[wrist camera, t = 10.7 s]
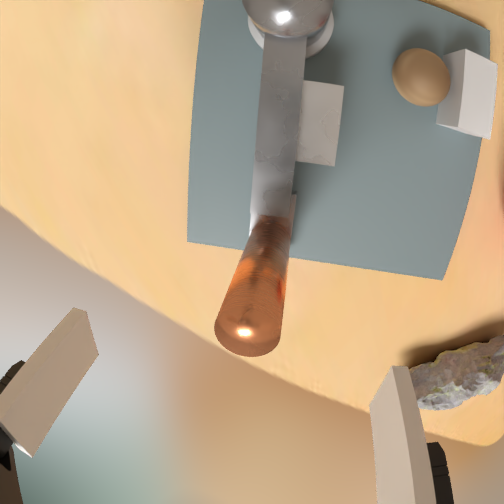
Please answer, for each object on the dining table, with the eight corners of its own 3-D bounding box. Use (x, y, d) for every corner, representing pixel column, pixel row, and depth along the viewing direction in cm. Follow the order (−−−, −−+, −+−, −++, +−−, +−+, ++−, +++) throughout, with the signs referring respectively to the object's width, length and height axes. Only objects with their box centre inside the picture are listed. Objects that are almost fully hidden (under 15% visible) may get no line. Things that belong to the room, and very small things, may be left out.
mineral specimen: (387, 395, 35) (395, 437, 29) (386, 359, 32) (397, 403, 26) (491, 365, 31) (508, 400, 25) (500, 325, 28) (523, 361, 22)
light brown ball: (387, 46, 18) (404, 35, 14) (438, 62, 18) (462, 55, 14) (382, 98, 20) (399, 96, 16) (432, 112, 20) (457, 115, 16)
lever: (259, -7, 17) (222, -90, 6) (342, 1, 17) (373, -79, 6) (239, 250, 26) (197, 347, 16) (311, 259, 26) (314, 365, 15)
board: (212, -23, 18) (193, -47, 14) (483, 32, 16) (514, 23, 11) (191, 236, 29) (170, 262, 24) (438, 274, 27) (457, 304, 22)
